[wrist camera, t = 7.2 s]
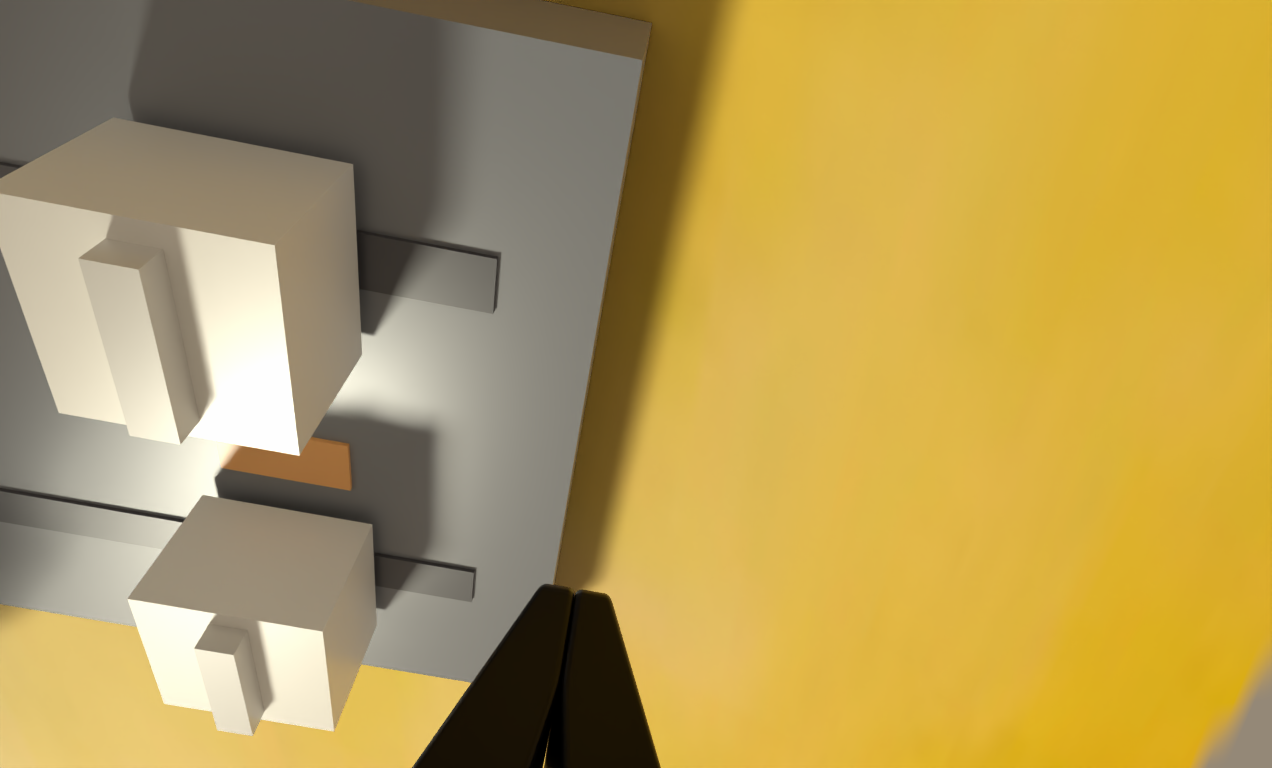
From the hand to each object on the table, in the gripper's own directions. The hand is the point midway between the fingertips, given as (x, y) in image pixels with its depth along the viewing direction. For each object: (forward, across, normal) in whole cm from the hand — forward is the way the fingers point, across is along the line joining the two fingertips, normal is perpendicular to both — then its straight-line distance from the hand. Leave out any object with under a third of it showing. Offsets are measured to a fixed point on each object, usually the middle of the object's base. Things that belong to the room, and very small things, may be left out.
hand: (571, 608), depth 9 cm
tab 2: (+7, +7, +9) cm, 13 cm away
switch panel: (+9, +10, +4) cm, 14 cm away
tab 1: (+7, +7, 0) cm, 10 cm away
